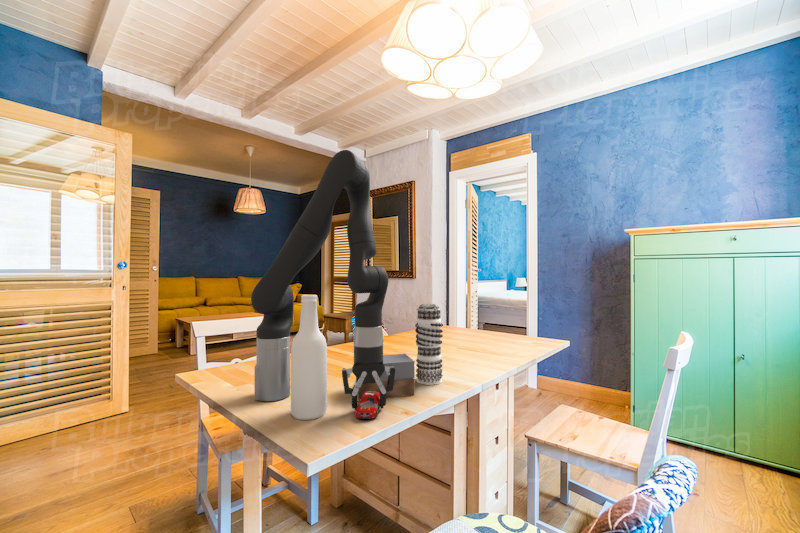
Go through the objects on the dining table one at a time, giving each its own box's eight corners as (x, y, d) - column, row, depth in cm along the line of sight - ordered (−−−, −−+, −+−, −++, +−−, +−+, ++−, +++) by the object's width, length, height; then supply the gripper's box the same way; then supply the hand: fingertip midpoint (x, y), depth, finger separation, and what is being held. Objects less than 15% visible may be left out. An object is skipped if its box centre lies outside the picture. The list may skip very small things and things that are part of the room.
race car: (375, 422, 84) (375, 405, 84) (353, 421, 84) (352, 404, 84) (383, 401, 97) (383, 387, 97) (364, 401, 97) (364, 386, 98)
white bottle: (284, 413, 89) (284, 295, 89) (315, 404, 95) (315, 293, 96) (302, 424, 83) (302, 296, 83) (333, 413, 89) (333, 294, 89)
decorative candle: (443, 376, 120) (442, 303, 120) (443, 385, 110) (443, 305, 111) (416, 376, 121) (415, 303, 121) (414, 384, 111) (414, 305, 112)
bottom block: (359, 401, 99) (358, 383, 99) (356, 389, 108) (356, 373, 108) (414, 396, 102) (414, 379, 102) (406, 385, 112) (406, 370, 112)
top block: (360, 383, 99) (359, 365, 99) (355, 373, 108) (355, 357, 108) (414, 378, 103) (414, 361, 103) (405, 369, 112) (404, 353, 113)
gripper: (393, 339, 96) (393, 401, 96) (340, 341, 93) (340, 405, 93) (398, 344, 89) (398, 412, 88) (340, 347, 86) (340, 416, 86)
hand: (368, 408), depth 91 cm, fingers closed on race car, 6 cm apart
